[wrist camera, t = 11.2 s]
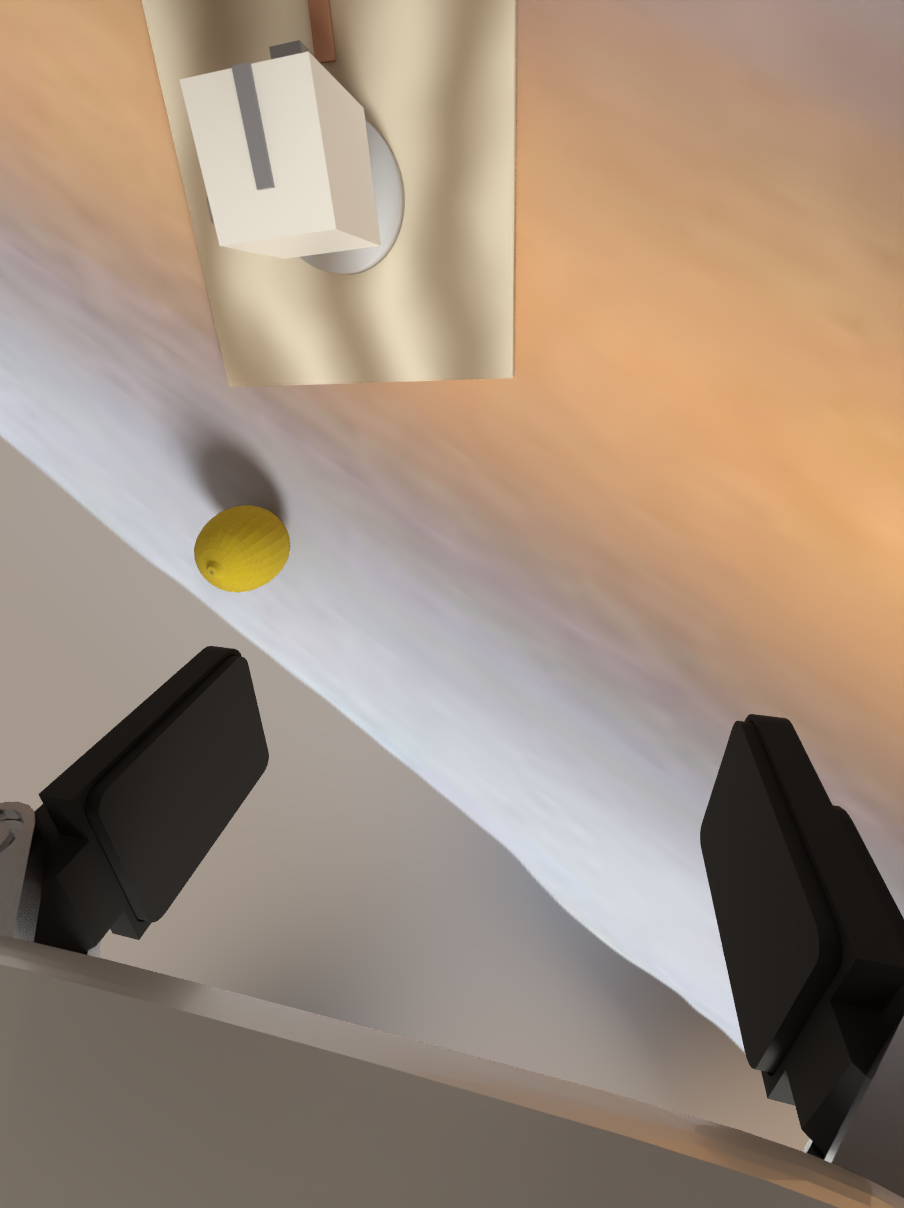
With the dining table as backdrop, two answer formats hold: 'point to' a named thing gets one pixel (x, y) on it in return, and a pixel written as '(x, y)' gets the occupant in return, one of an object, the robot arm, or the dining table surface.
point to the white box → (283, 156)
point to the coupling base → (445, 176)
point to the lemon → (242, 548)
